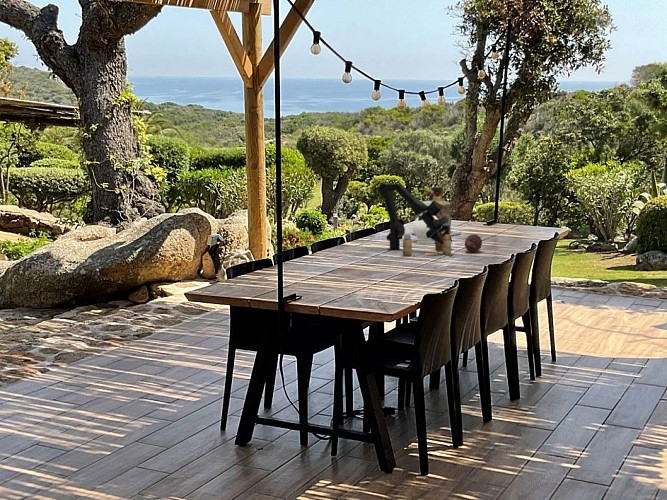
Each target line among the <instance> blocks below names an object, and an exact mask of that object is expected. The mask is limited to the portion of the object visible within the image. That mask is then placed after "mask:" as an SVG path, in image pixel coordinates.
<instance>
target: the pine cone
mask: <svg viewBox="0 0 667 500" xmlns="http://www.w3.org/2000/svg"><path fill="white" fill-rule="evenodd" d="M482 246H483V240H482V239H481V236H479V235H477V234H470V235H468V236H467V237H466V238H465V240H464V247H465V249H466V251H468V252H471V253H476V252H477V251H480V249H481V248H482Z"/></svg>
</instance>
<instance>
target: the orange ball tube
mask: <svg viewBox="0 0 667 500" xmlns="http://www.w3.org/2000/svg"><path fill="white" fill-rule="evenodd" d="M443 242H444V244H442V251H441V255H442V256H448V257H451V256H452V242H451V240H450V236H449V235H448V234H445V235H444V239H443Z"/></svg>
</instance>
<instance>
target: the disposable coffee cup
mask: <svg viewBox="0 0 667 500" xmlns="http://www.w3.org/2000/svg"><path fill="white" fill-rule="evenodd" d="M449 233H450V232H449ZM439 236H440V237H441V239H442V240H443V239H444V237H442V236H441V234H440V233H439ZM434 241H435V240H434ZM434 247H435V251H436V252H442V244H441V243H439V242H437V241H435V244H434Z"/></svg>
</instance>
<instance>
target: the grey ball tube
mask: <svg viewBox="0 0 667 500" xmlns="http://www.w3.org/2000/svg"><path fill="white" fill-rule="evenodd" d="M411 237H412V236H411V234H409V233H405V234H404V235H403V238H402V255H403V256H407V257H406V258H409V257H408V256H412V255H413V253H412V251H413V247H412V246H413V245H412V241H413V239H412V238H411Z"/></svg>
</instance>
